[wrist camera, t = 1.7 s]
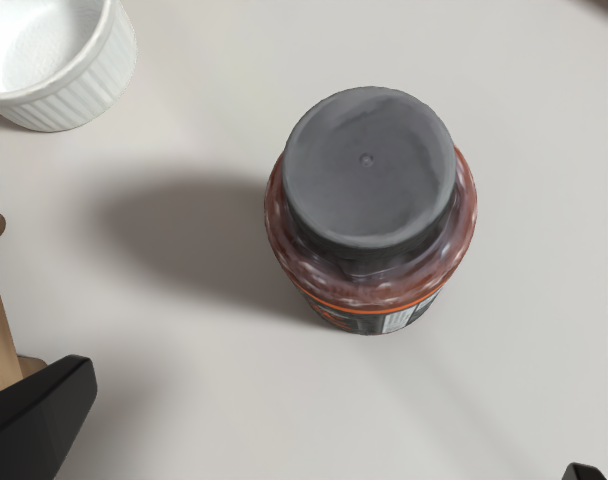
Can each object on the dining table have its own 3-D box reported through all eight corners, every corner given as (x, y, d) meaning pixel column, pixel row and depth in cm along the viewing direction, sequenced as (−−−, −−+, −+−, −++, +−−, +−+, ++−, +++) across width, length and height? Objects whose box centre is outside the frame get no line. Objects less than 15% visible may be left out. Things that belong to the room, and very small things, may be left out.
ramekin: (-28, 36, 29) (-94, -22, 25) (120, -31, 29) (78, -101, 25) (9, 172, 27) (-59, 132, 22) (172, 98, 26) (134, 44, 22)
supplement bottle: (272, 267, 23) (183, 162, 13) (368, 175, 24) (363, -1, 13) (370, 369, 22) (365, 349, 11) (471, 268, 22) (562, 152, 11)
